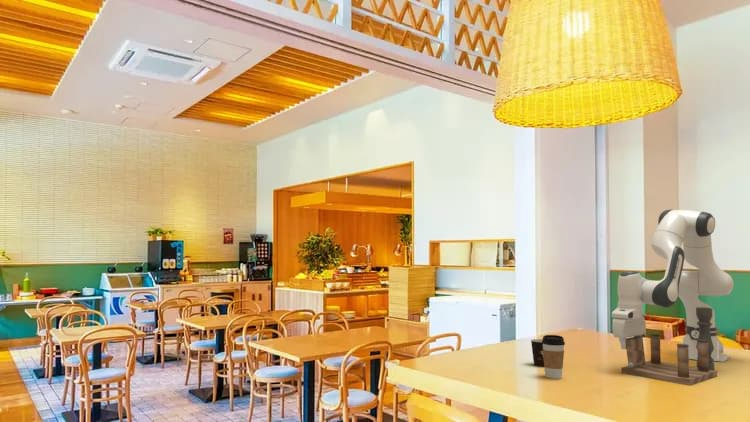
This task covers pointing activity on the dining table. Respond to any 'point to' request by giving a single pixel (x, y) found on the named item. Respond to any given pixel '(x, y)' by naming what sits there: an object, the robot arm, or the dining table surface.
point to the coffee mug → (537, 352)
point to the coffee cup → (553, 355)
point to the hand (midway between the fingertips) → (630, 347)
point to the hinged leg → (635, 351)
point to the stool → (675, 365)
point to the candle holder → (705, 331)
